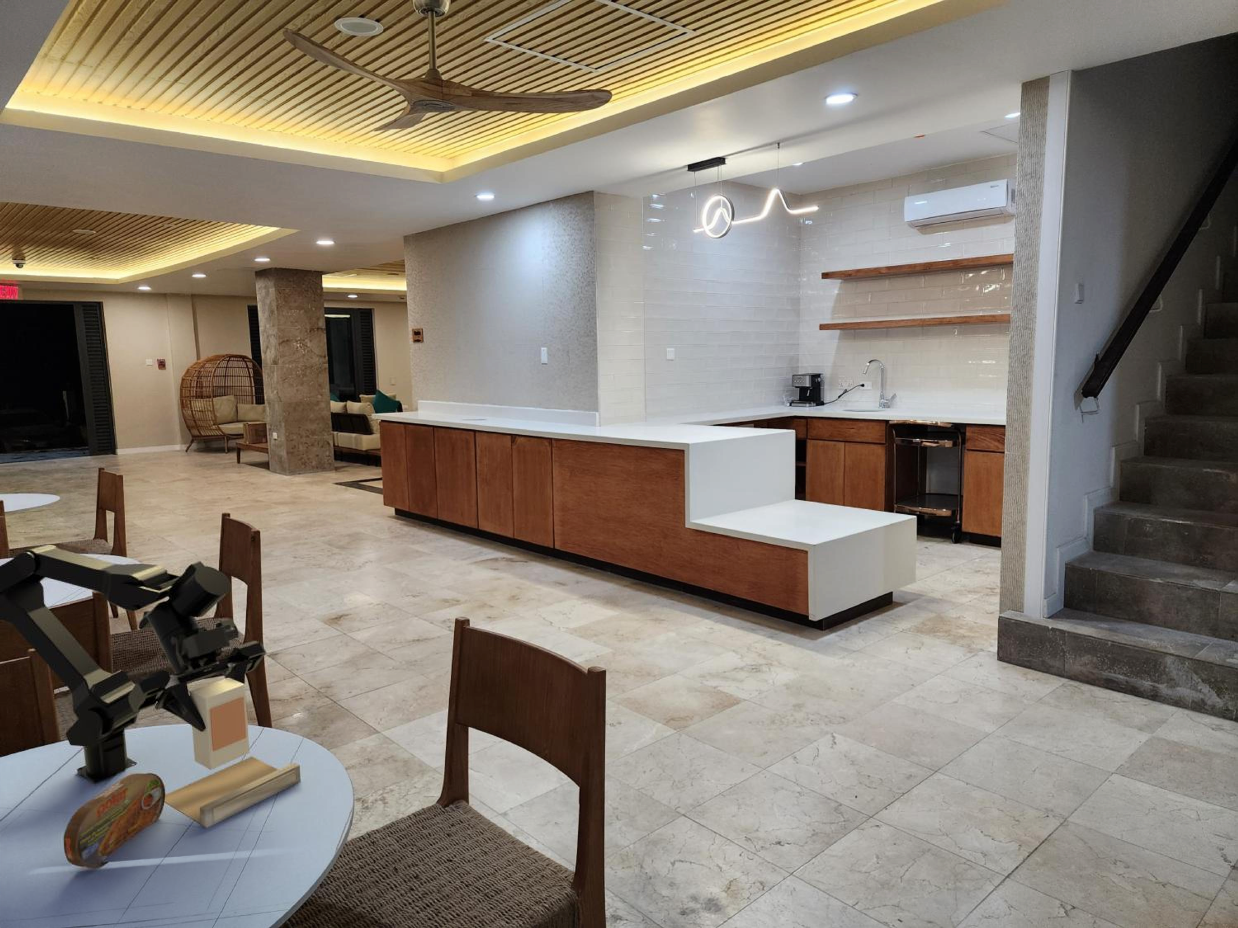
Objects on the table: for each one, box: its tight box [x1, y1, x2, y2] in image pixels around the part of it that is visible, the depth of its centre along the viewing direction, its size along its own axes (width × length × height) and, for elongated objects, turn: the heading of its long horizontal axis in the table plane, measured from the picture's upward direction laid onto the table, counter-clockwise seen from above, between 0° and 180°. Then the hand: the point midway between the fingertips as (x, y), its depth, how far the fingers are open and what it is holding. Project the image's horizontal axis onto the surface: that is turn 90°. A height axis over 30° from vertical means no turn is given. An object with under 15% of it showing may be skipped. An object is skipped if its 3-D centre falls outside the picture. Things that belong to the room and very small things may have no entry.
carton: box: [188, 678, 250, 770], centre depth 120 cm, size 5×6×11 cm
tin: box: [63, 772, 166, 869], centre depth 110 cm, size 15×3×8 cm, turn 168°
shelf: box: [164, 756, 301, 829], centre depth 123 cm, size 14×15×3 cm
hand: (224, 721), depth 119 cm, fingers closed on carton, 6 cm apart
